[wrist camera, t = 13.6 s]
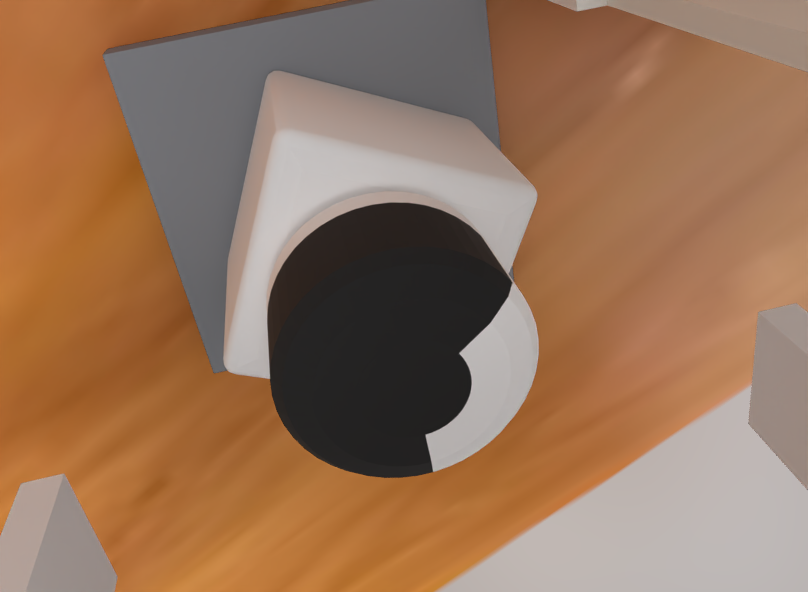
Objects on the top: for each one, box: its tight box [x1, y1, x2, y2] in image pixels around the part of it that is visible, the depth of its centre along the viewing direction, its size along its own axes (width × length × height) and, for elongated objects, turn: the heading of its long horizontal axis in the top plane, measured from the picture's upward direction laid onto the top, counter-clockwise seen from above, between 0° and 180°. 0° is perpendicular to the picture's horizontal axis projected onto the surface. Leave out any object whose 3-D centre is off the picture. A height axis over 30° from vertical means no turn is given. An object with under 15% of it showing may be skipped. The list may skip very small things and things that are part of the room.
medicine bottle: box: [223, 71, 539, 478], centre depth 21 cm, size 7×7×12 cm
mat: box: [103, 0, 514, 373], centre depth 27 cm, size 12×12×1 cm
